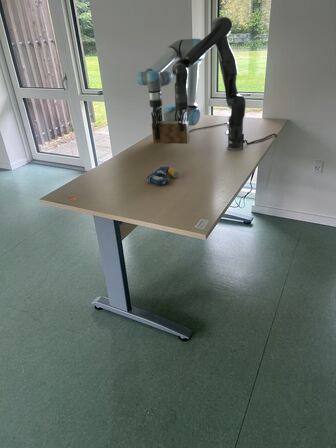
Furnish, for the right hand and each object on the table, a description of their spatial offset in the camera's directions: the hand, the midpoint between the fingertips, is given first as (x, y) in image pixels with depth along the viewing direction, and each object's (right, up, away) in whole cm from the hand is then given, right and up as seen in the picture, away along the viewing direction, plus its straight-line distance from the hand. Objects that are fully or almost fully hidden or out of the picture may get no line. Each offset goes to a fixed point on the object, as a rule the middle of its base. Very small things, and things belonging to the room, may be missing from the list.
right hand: (183, 129), depth 203 cm
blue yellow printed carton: (-11, -32, -17) cm, 38 cm away
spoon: (+41, +18, +57) cm, 72 cm away
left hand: (-15, -3, +7) cm, 17 cm away
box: (-7, -6, +6) cm, 11 cm away
